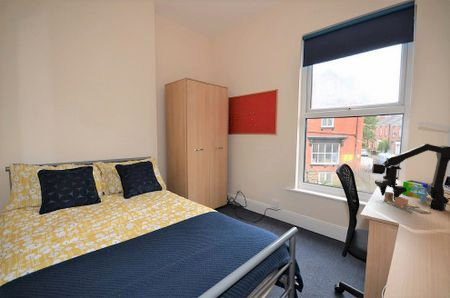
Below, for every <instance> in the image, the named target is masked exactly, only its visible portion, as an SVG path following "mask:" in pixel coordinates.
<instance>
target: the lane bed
mask: <svg viewBox="0 0 450 298" xmlns="http://www.w3.org/2000/svg"><path fill="white" fill-rule="evenodd" d="M411 204H412V203H411ZM412 205H415V204H412ZM391 206H392V207H395V208H396V209H399V210H402V211H404V212H406V213H408V214H413V211H414V212H416V213H418V214H423V213H422V212H420V211H418V210H416V209H414V208H411V207H409V209H403V208H401V207H399V206H396V205H394V204H391ZM415 206H416V208H422V207H420V206H418V205H415ZM424 209H425V210H427V209H426V208H424ZM410 210H412V211H410ZM429 211H430V213H429V214H431V213H432V211H431V210H429Z"/></svg>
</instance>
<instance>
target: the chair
mask: <svg viewBox="0 0 450 298" xmlns="http://www.w3.org/2000/svg"><path fill="white" fill-rule="evenodd" d="M413 188H416V189H417V191H413V190H414V189H413ZM422 189H425V190H426V188H424V187H421V186H419V185H412V191H410V192H412V193H414V194H416V195H418V196H419V198H420V201H421V202H423V203H427V197H428V196H429V194H428V193H427V191H425V193H424V192H422V191H421V190H422ZM418 190H420V191H418ZM421 196H423V198H422V197H421Z"/></svg>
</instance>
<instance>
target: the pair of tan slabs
mask: <svg viewBox="0 0 450 298" xmlns="http://www.w3.org/2000/svg"><path fill="white" fill-rule="evenodd" d="M408 205H410V206H409V207H411V208H413V209H416V210H418V211H420V212H422V213H421V214H431V213H430V211H431V210H428V209H426V208H423V207H421V208H416V206H417V205H416V206H415V204H413V205H412V203H408ZM425 209H426V210H425Z"/></svg>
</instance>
